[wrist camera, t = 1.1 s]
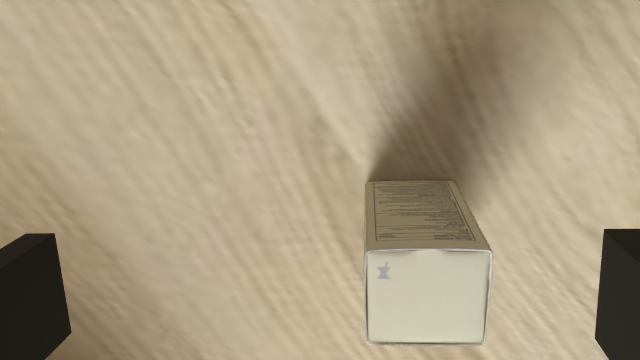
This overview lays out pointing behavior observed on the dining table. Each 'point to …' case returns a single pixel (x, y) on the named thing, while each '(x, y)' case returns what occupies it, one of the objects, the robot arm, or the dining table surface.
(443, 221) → the cardboard box
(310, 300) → the dining table surface
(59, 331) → the robot arm
